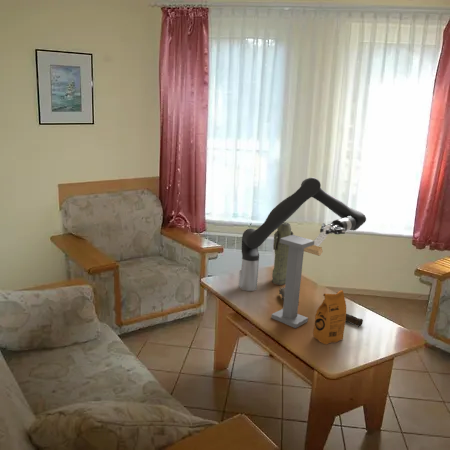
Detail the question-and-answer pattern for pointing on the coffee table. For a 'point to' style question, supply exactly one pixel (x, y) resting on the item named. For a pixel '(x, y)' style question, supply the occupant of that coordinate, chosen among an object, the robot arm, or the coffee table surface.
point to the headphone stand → (293, 281)
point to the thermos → (281, 254)
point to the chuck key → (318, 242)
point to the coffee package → (330, 318)
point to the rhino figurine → (282, 292)
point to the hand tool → (354, 320)
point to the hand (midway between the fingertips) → (323, 231)
